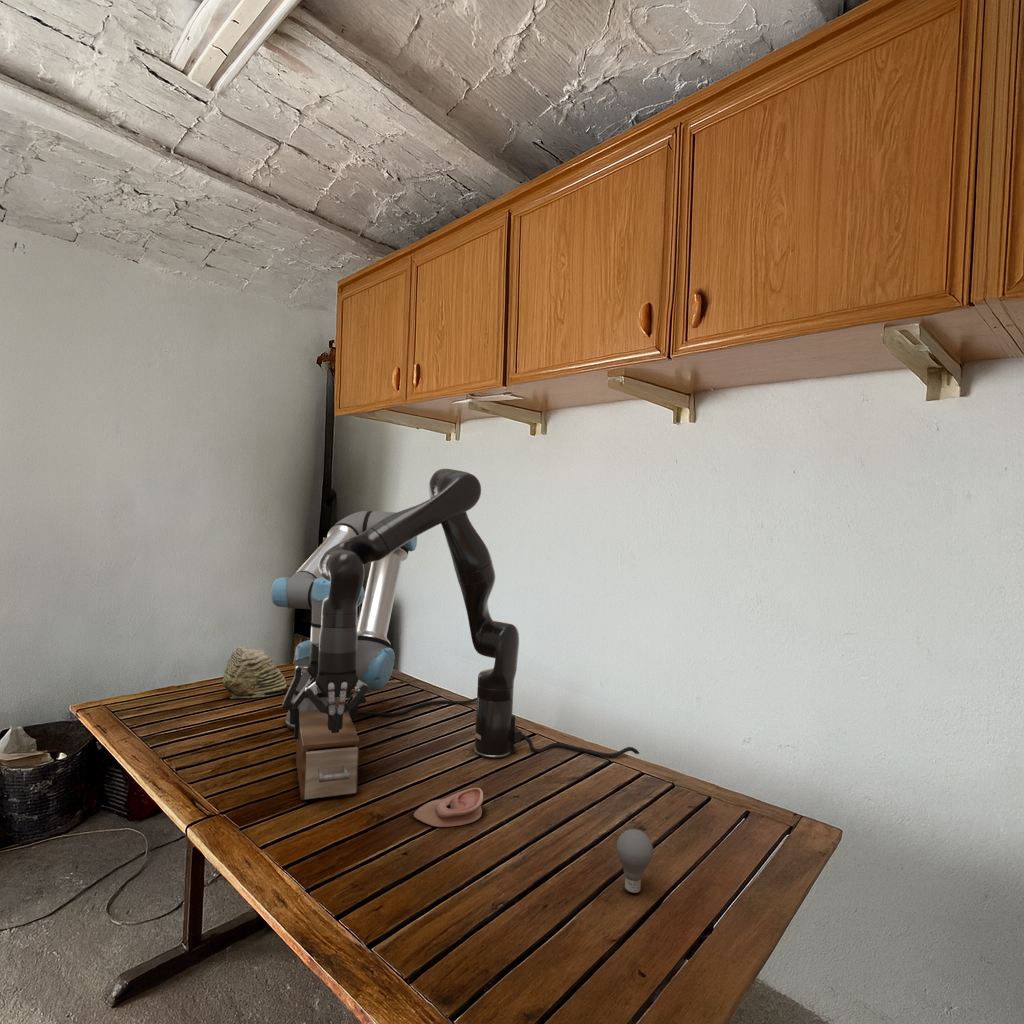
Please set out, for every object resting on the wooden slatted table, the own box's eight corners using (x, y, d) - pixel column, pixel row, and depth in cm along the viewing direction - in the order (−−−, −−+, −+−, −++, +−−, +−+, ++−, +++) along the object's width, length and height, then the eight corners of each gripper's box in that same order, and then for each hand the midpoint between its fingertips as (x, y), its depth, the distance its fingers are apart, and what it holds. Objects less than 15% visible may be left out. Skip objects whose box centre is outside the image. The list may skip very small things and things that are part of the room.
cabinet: (357, 793, 136) (359, 739, 136) (300, 800, 132) (303, 745, 132) (345, 753, 156) (346, 707, 156) (295, 758, 152) (297, 711, 152)
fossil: (218, 695, 195) (220, 647, 195) (278, 685, 208) (279, 640, 207) (228, 703, 189) (230, 653, 188) (289, 692, 201) (290, 645, 201)
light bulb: (610, 879, 108) (613, 822, 108) (644, 879, 109) (647, 822, 109) (619, 902, 102) (622, 840, 102) (655, 901, 103) (658, 840, 103)
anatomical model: (408, 802, 124) (427, 778, 135) (407, 822, 124) (427, 796, 136) (473, 812, 122) (488, 786, 133) (473, 832, 122) (487, 805, 133)
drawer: (359, 805, 129) (361, 759, 129) (306, 812, 125) (308, 764, 125) (344, 755, 153) (345, 716, 153) (299, 760, 149) (300, 720, 149)
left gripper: (273, 649, 141) (269, 746, 142) (380, 644, 150) (377, 735, 151) (272, 641, 148) (269, 734, 149) (375, 638, 157) (371, 724, 158)
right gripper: (305, 653, 123) (301, 741, 123) (373, 649, 128) (370, 735, 128) (302, 644, 130) (299, 728, 130) (368, 641, 135) (364, 722, 135)
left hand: (323, 735), depth 150 cm, fingers closed on cabinet, 11 cm apart
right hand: (334, 731), depth 129 cm, fingers closed
